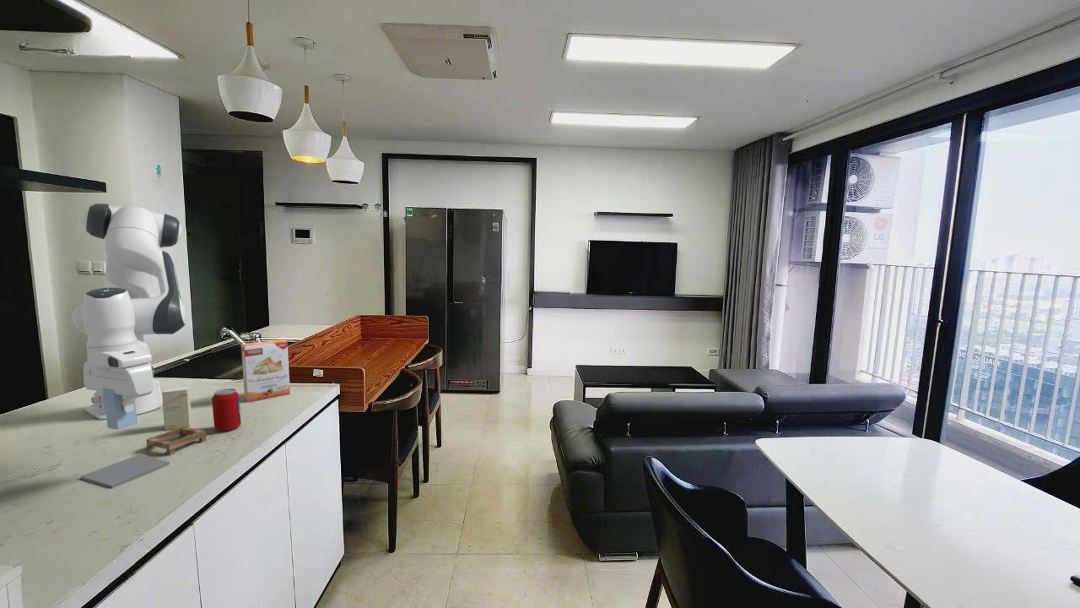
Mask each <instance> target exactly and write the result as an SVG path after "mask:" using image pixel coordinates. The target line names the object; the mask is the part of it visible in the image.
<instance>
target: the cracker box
mask: <svg viewBox="0 0 1080 608" xmlns="http://www.w3.org/2000/svg"><path fill="white" fill-rule="evenodd" d="M288 345H289V344H288V341H286V340H285V339H275V340H267V341H258V342H251V343H249V342H248V343H242V344H241V345H240V347H241V360H242V361H241V362H242V372H243V373H242V378H243V390H244V399H245V400H246V401H247V402H249V403H251V402H254V401H259V400H265V399H269V398H276V397H280V396H285V395H290V394H291V389H290V388H291V387H290V385H291V384H290V367H289V350H288V349H289V346H288Z"/></svg>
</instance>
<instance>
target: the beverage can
mask: <svg viewBox="0 0 1080 608" xmlns="http://www.w3.org/2000/svg"><path fill="white" fill-rule="evenodd" d="M211 403H212V406H211V407H212V416H213V425H214V427H213V428H214V430H215V431H218V432H221V433H226V432H232V431H233V430H236V429H238V428H239V427H240V426H241V424H242V420H241V408H240V407H241V406H240V396H239V392H237V391H236V389H235V388H223V389H220V390H216V391H215V392H214V394H213V395H212V398H211Z"/></svg>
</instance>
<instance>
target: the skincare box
mask: <svg viewBox="0 0 1080 608" xmlns="http://www.w3.org/2000/svg"><path fill="white" fill-rule="evenodd" d="M161 395H162V398H163V403H162V409H163V422H164V423H163V424H164V425H163V426H164V430H165V431H168V430H169V431H171V430H175V429H178V428H180V427H183V426H184V427H188V428H190V426H191V424H192V412H191V410H192V409H191V408H192V407H191V395H190V386H189V385H186V386H177V387H167V388H163V390H162V391H161Z"/></svg>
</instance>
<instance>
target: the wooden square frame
mask: <svg viewBox="0 0 1080 608" xmlns="http://www.w3.org/2000/svg"><path fill="white" fill-rule="evenodd" d="M206 434H207V432H206V430H202V429H198V428H197V429H196V428H193V427H184V426H183V427H180V428H177V429H171V430H169V431H166V432H164V433H160V434H157V435H155V436H152V437H149V438H146V439H145V441H146V448H147V449H146V450H147V451H152V450H154V449H156V448H160V449H163V450H164V449H165V450H166V455H168V456H172V455H174V454H175V453H176V450H175V449H176V448H179V447H181V446H184V445H185V444H188V443H191V442H194V441H196V440H198V442H199V443H204V442H207V435H206ZM176 436H179V439H176V440H173V441H167V439H170V438H173V437H176Z"/></svg>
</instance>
